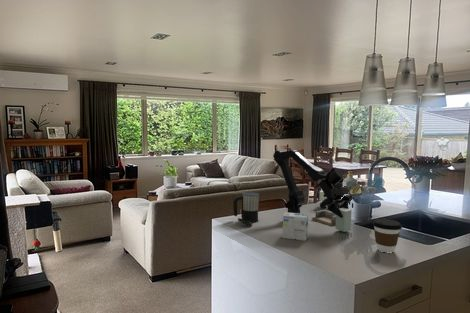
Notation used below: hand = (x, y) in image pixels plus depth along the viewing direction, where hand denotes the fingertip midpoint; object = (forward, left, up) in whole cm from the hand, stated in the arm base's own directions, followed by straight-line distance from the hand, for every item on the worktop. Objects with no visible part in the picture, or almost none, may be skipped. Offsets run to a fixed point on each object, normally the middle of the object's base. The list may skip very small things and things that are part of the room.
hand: (345, 216), depth 159 cm
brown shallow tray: (+8, +18, -8) cm, 21 cm away
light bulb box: (-26, +7, -8) cm, 28 cm away
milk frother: (-30, +38, -8) cm, 49 cm away
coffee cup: (-6, -25, -8) cm, 26 cm away
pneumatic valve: (+30, +37, -8) cm, 49 cm away
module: (0, +1, -7) cm, 7 cm away
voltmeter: (+46, +39, -8) cm, 61 cm away
